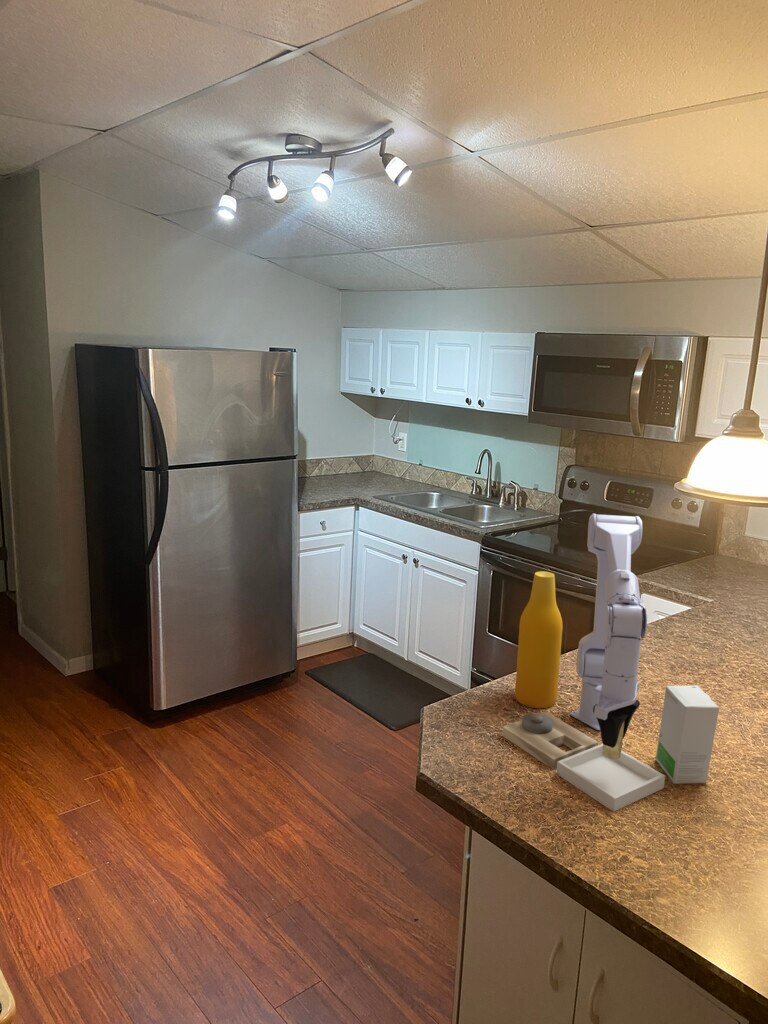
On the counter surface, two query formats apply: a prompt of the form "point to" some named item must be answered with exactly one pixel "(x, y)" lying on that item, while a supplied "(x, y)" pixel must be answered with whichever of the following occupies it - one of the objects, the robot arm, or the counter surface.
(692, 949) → the counter surface
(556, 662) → the beer bottle
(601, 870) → the counter surface
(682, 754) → the skincare box
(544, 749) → the tensioner bracket
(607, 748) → the lock pin
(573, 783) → the tray
